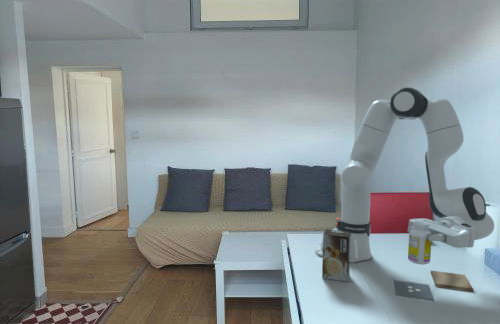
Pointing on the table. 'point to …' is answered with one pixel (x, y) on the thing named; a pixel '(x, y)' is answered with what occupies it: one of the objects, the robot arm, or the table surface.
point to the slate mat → (413, 290)
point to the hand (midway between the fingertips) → (418, 233)
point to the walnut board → (451, 280)
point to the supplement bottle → (419, 243)
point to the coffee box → (336, 255)
